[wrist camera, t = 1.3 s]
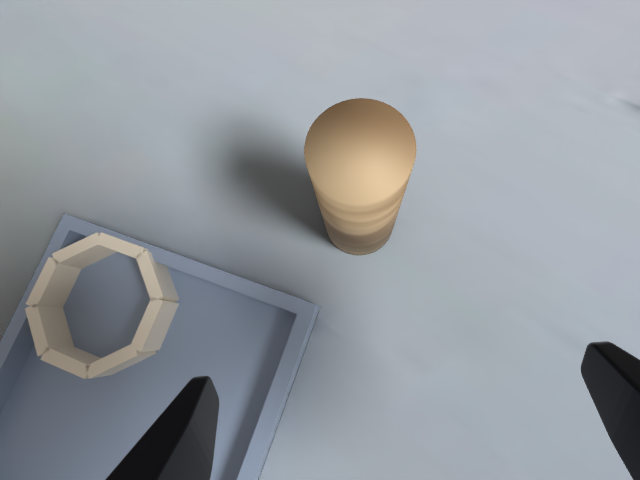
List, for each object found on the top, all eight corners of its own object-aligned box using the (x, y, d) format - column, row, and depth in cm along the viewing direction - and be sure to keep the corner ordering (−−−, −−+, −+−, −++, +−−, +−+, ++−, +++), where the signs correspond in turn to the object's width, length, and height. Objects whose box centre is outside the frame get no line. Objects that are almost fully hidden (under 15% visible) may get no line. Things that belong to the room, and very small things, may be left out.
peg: (380, 264, 23) (396, 216, 14) (316, 242, 24) (288, 182, 14) (401, 202, 24) (430, 114, 15) (338, 182, 25) (326, 86, 15)
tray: (212, 609, 20) (192, 646, 18) (-39, 479, 23) (-86, 497, 21) (320, 306, 23) (315, 304, 21) (86, 222, 26) (57, 210, 23)
